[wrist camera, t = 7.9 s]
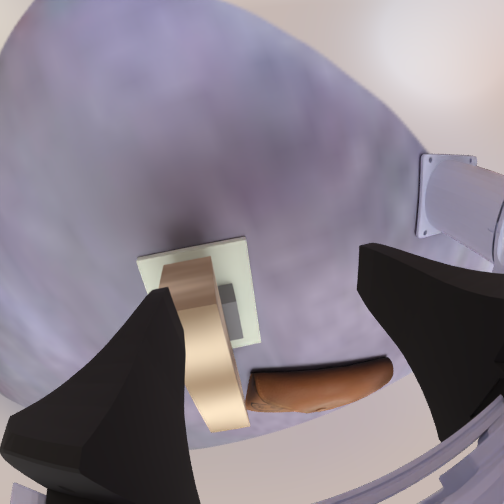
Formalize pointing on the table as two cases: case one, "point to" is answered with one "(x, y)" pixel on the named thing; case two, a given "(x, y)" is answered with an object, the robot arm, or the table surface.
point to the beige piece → (206, 344)
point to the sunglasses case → (316, 387)
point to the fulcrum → (228, 282)
